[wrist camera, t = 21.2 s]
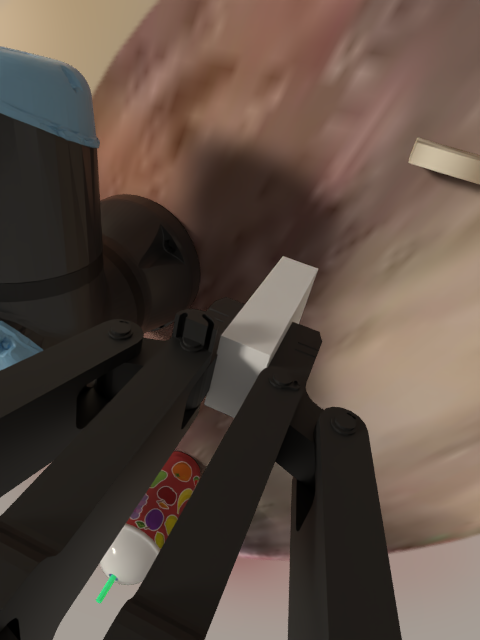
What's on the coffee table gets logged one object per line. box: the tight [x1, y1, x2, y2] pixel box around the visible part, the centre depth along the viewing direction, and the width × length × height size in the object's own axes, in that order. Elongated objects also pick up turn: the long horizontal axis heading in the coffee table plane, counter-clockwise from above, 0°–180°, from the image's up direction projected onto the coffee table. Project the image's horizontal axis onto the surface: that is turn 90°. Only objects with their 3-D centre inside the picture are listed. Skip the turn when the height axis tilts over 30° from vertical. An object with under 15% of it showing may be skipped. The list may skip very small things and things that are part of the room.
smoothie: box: [96, 451, 200, 603], centre depth 56 cm, size 8×8×20 cm
